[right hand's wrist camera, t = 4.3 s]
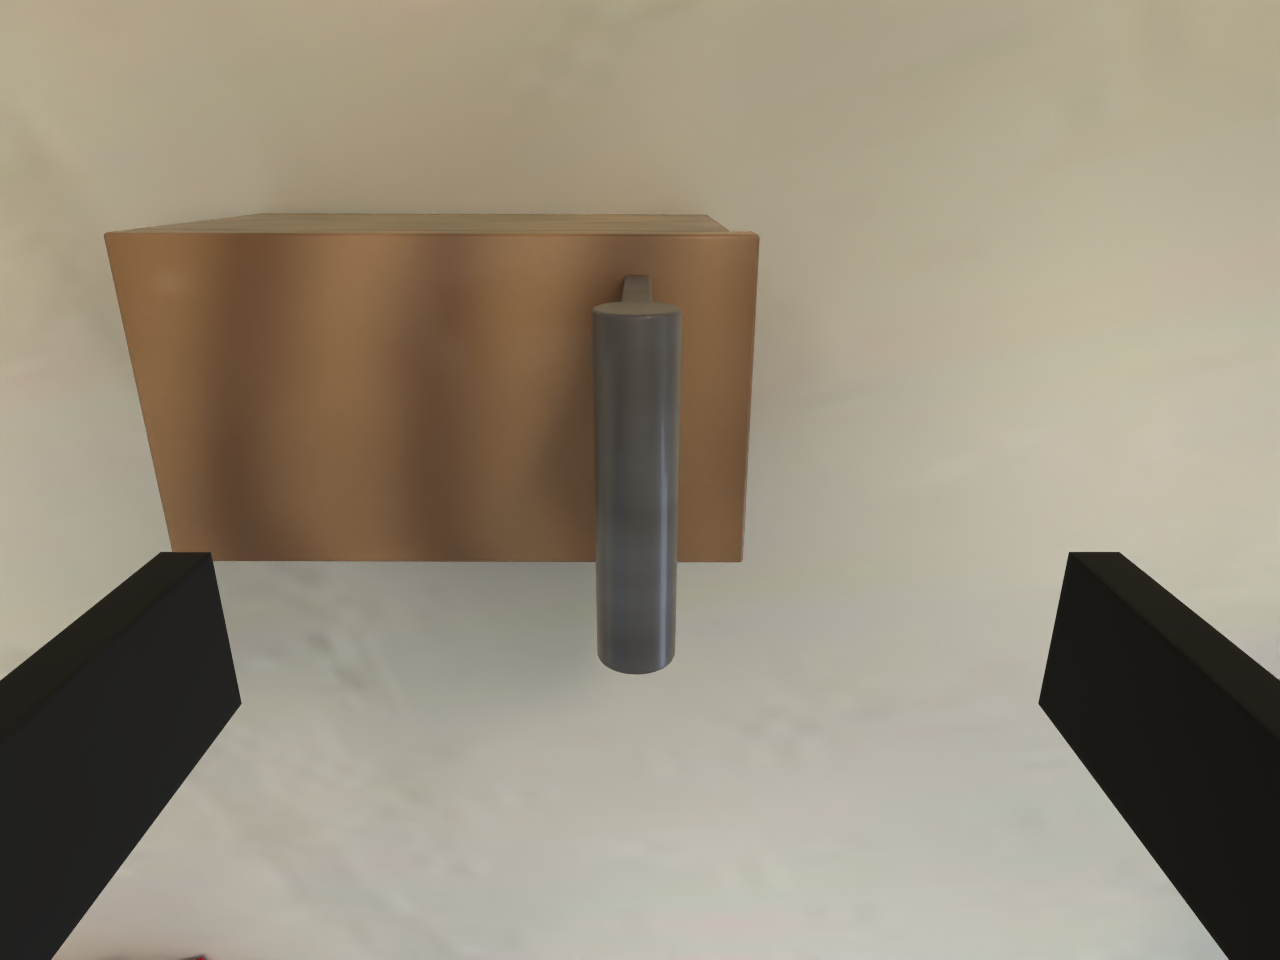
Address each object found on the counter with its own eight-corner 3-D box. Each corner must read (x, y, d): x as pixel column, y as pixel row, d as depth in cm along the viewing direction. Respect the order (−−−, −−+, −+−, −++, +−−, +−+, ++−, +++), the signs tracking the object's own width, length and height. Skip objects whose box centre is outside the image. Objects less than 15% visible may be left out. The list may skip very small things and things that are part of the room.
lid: (754, 230, 23) (815, 264, 15) (738, 546, 26) (781, 711, 18) (127, 229, 23) (-147, 262, 15) (193, 545, 26) (-2, 709, 18)
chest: (708, 214, 31) (731, 230, 23) (700, 457, 34) (719, 545, 26) (261, 213, 31) (128, 229, 23) (298, 456, 34) (194, 544, 26)
